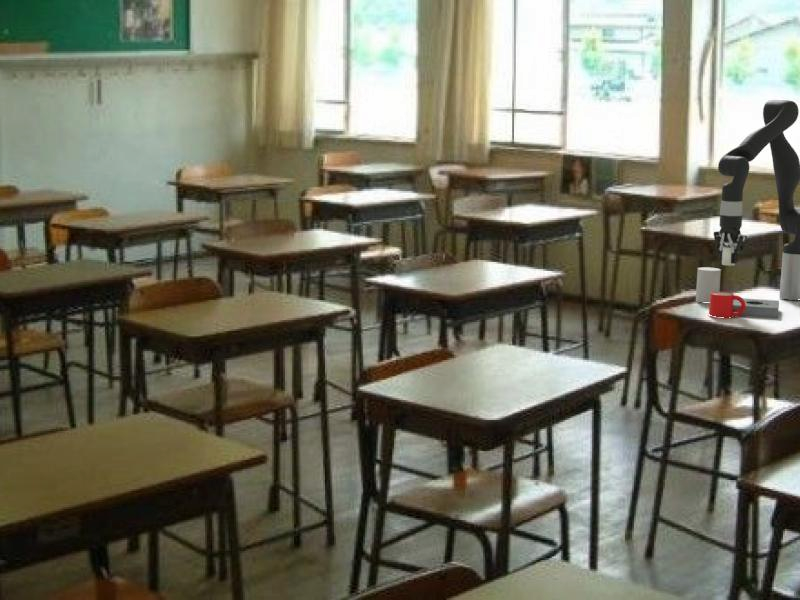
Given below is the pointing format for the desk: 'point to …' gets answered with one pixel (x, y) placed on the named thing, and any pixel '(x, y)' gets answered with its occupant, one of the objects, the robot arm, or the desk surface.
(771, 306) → the block
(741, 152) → the robot arm
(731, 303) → the mug
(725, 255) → the bushing
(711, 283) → the cup
